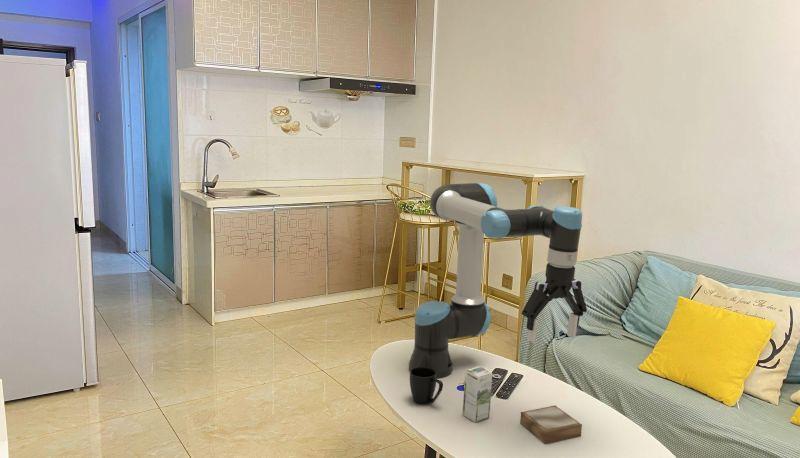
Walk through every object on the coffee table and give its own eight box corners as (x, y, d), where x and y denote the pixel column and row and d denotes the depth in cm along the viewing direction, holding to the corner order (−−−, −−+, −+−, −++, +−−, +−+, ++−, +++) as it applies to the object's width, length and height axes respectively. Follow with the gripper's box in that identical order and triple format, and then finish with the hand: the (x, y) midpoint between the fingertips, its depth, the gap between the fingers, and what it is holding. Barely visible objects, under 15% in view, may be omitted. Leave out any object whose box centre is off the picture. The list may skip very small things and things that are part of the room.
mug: (430, 414, 179) (431, 384, 177) (403, 399, 188) (404, 370, 186) (449, 406, 184) (451, 377, 182) (423, 392, 193) (423, 364, 191)
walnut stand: (520, 423, 175) (521, 411, 174) (554, 416, 179) (555, 404, 179) (545, 444, 164) (546, 431, 163) (581, 436, 169) (582, 423, 168)
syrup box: (476, 410, 182) (478, 364, 179) (490, 418, 177) (492, 371, 175) (462, 415, 179) (464, 369, 176) (475, 423, 174) (478, 376, 171)
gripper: (531, 270, 154) (521, 348, 159) (606, 266, 164) (595, 339, 169) (514, 262, 161) (505, 337, 165) (588, 258, 171) (578, 329, 175)
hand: (551, 338), depth 167 cm, fingers open, 13 cm apart
